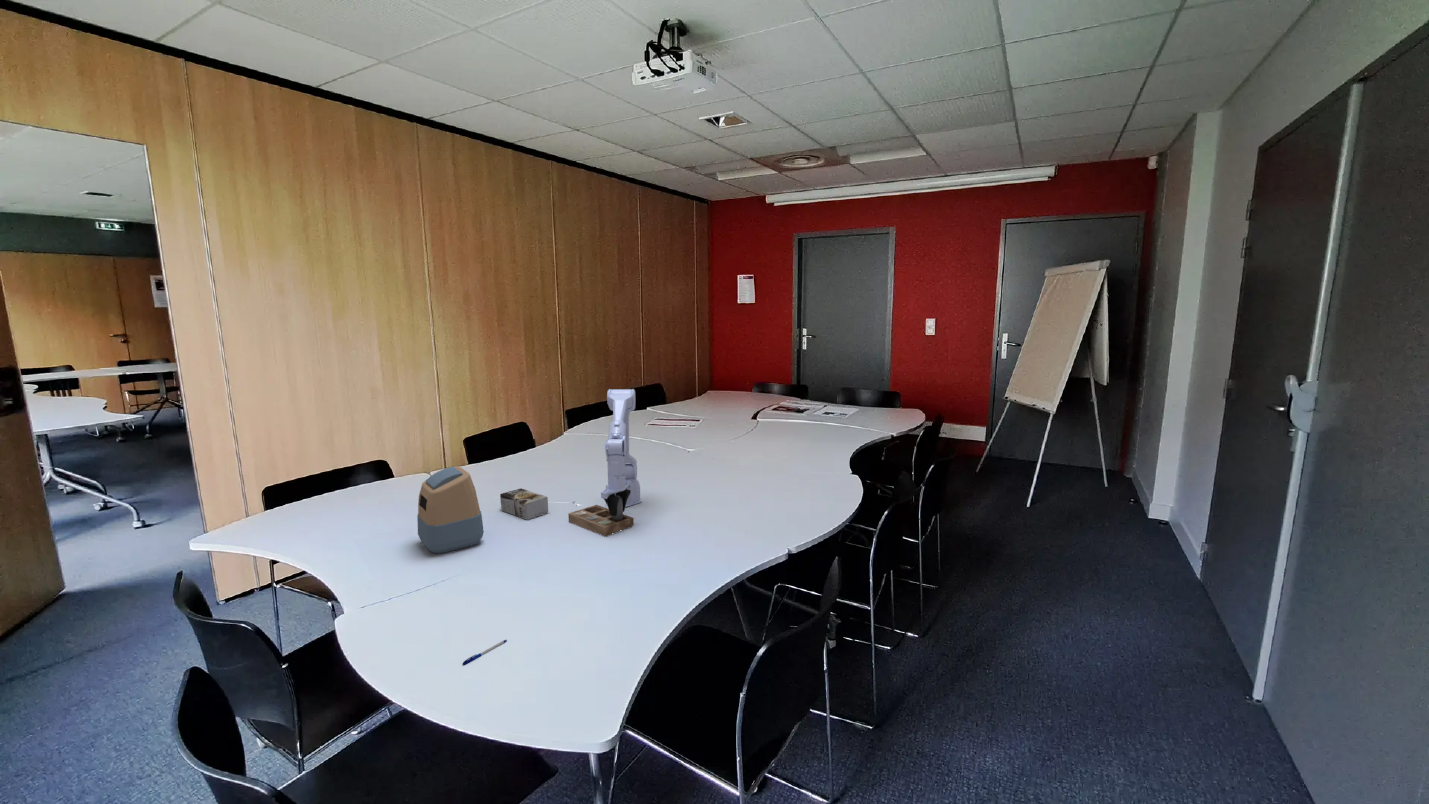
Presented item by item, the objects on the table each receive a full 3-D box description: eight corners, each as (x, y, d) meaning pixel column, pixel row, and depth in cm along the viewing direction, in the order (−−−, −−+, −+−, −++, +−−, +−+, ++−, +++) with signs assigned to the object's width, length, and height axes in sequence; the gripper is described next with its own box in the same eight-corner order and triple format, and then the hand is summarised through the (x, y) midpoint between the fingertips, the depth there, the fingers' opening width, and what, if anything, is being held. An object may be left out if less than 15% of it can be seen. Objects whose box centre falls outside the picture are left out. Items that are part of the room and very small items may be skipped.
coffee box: (526, 502, 197) (499, 493, 207) (527, 520, 198) (500, 510, 208) (548, 495, 204) (521, 487, 214) (548, 513, 205) (522, 503, 215)
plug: (615, 516, 195) (614, 494, 194) (625, 517, 193) (624, 495, 192) (608, 519, 191) (607, 498, 190) (618, 521, 189) (617, 499, 188)
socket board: (596, 512, 206) (596, 503, 206) (633, 526, 193) (633, 516, 193) (568, 521, 197) (568, 512, 197) (605, 536, 184) (605, 526, 184)
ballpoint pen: (464, 667, 117) (464, 662, 117) (461, 665, 118) (461, 661, 117) (507, 642, 126) (507, 638, 126) (504, 641, 126) (504, 637, 126)
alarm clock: (415, 541, 180) (410, 470, 176) (470, 529, 190) (466, 461, 187) (429, 559, 167) (423, 483, 163) (488, 544, 178) (483, 472, 174)
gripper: (619, 467, 198) (620, 504, 200) (592, 478, 185) (594, 518, 187) (636, 469, 195) (637, 508, 197) (610, 480, 182) (611, 521, 184)
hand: (617, 513), depth 192 cm, fingers closed on plug, 4 cm apart
